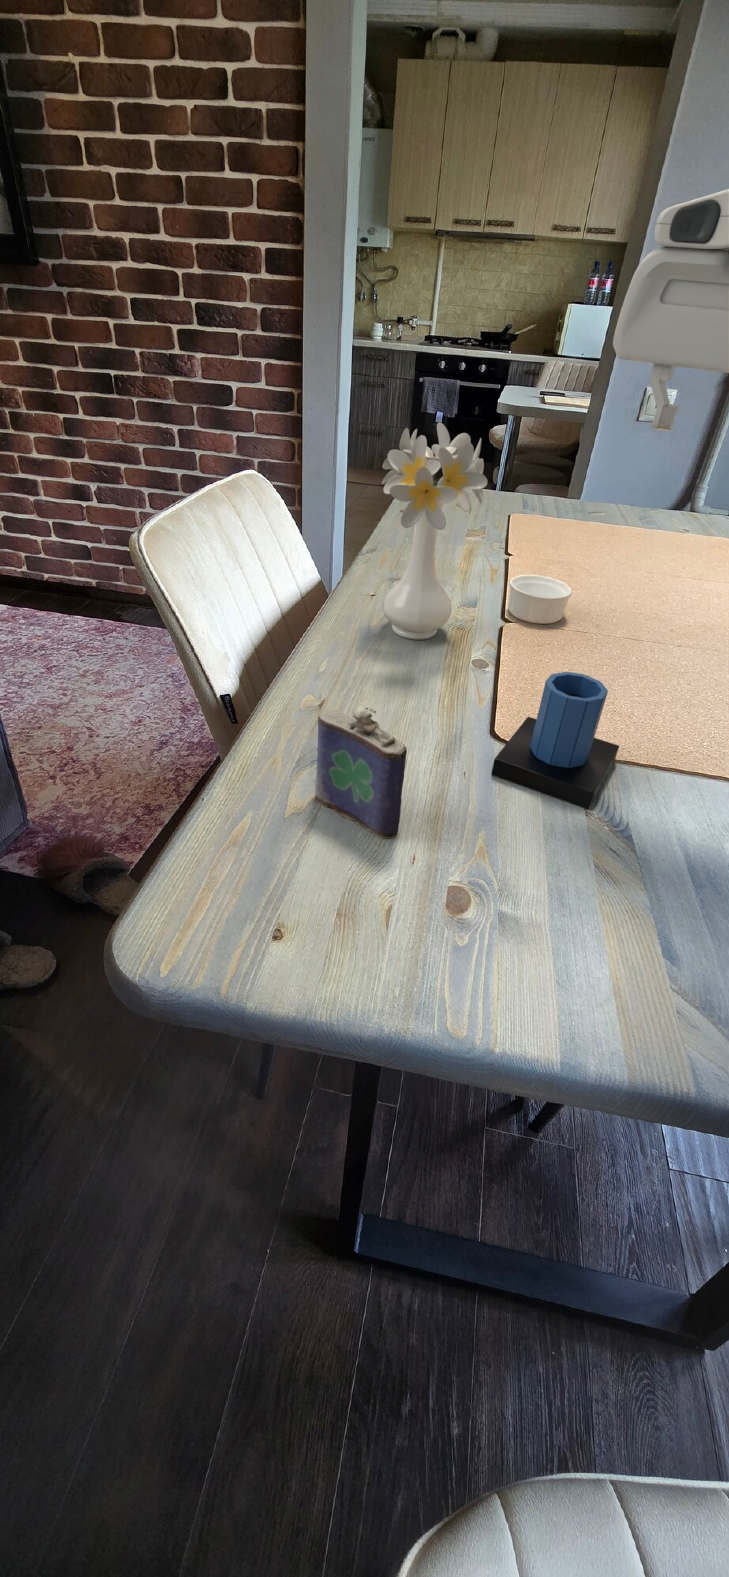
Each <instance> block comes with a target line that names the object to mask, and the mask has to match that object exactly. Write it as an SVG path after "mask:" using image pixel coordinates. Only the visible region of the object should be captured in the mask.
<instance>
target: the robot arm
mask: <svg viewBox="0 0 729 1577" xmlns="http://www.w3.org/2000/svg"><path fill="white" fill-rule="evenodd" d="M653 233H654V234H653V235H654V236H653V237H654V241H655V242H656V244H658V245H660V246H662V247H658V248H656V249H654V250H652V251H650V252H649V253H648V254H647V255H646V256H644V258H643V259H642V260H641V261H640V263H639V264H638V266H637V268H636V270H635V271H634V273H633V276H632V278H631V281H630V283H629V286H628V289H627V292H626V294H625V297H624V299H623V302H622V305H621V309H620V312H619V315H618V318H617V323H616V327H615V330H614V334H613V339H612V346H613V349H614V352H615V354H616V357H617V358H618V359H620V360H624V361H633V362H639V363H640V362H641V363H648V364H653V366H652V370H651V373H650V376H649V382H650V387H651V390H652V393H653V394H652V395H653V398H654V403H655V405H656V409H655V412H654V416H653V420H652V423H651V429H653V430H660V431H666V432H667V431H668V432H670V431H672V430H673V428H674V425H675V422H676V419H675V417H676V416H677V415H678V413H679V412H678V411H679V408H680V405H678V404H673V403H670V398H669V394H668V389H667V385H666V382H668V381H670V380H672V379H673V377H674V374H675V371H676V367H679V368H687V369H694V370H695V369H696V370H703V371H709V372H717V373H726V374H729V188H727V189H724V190H721V191H718V192H715V193H711V194H708V195H705V196H702V197H699V198H695V199H692V200H688V201H685V202H682V203H678V204H675V205H672V206H670V207H667V208H665V209H664V210H662V211H661V212H660V213H659V215H658V217H657V220H656V222H655V227H654V232H653Z"/></svg>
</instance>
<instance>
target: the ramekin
mask: <svg viewBox="0 0 729 1577" xmlns="http://www.w3.org/2000/svg"><path fill="white" fill-rule="evenodd" d="M572 592H573V590H572V588H571V586H570V585H569V584H567V583H566V582H564V581H562V580H560V579H557V578H554V577H549V576H546V575H540V574H521V575H516V576H513V577H512V578H511V579H510V580H509V596H508V604H507V605H508V607H507V608H508V611H509V613H510V614H511V615H512V616H513V617H515V618H517V619H518V620H521V621H524V622H526V623H531V624H537V625H538V624H540V625H544V624H545V625H549V624H555V623H557V622H559V621H560V620H562V618H563V616H564V612H565V610H566V606H567V605H568V601H569V599H570V597H571V596H572Z"/></svg>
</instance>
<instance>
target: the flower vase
mask: <svg viewBox="0 0 729 1577" xmlns="http://www.w3.org/2000/svg"><path fill="white" fill-rule="evenodd" d="M417 433H418V428H416V429H414V431H413V432H412V434H411V437H410V430H409V428H407V427H406V428H405V429H404V430H403V432H402V434H401V437H400V440H399V449H391V450H389V451H388V453H387V458H386V459H385V460H384V461H383V463H382V466H381V468H382V469H383V470H390V471H388V472H387V473H386V475H385V476H384V478H383V479H382V481H381V485H384V486H383V493H384V494H386V495H390V496H391V497H392V498H394V499H395V500H396V501H400V502H403V503H408V502H409V503H408V504H407V505H406V506H405V508H404V510H403V511H402V514H401V517H400V525H401V527H403V528H404V529H409V528H412V527H413V526H414V527H413V534H412V535H413V537H412V542H411V548H410V554H409V558H408V562H407V566H406V568H405V570H404V572H403V574H402V576H401V577H400V579H399V580H398V581H397V582H395V583H394V584H393V585H392V586H391V587H390V588H389V589H388V590H387V591H386V593H385V594H384V597H383V601H382V604H381V610H382V612H383V615H384V617H385V618H386V620H387V621H388V622H389V623H390V624H391V630H392V631H393V632H394V634H396V635H397V636H399V637H401V638H404V639H408V640H414V641H415V640H418V641H420V640H428V639H431V638H433V637H434V636H436V635H437V632H438V629H440V628H441V627H443V626H444V625H445V624H446V623H447V622H448V620H449V619H450V618H451V616H452V611H453V610H452V608H453V607H452V602H451V599H450V597H449V595H448V593H447V591H446V590H445V589H444V588H443V587H442V585H441V583H440V580H439V577H438V574H437V568H436V553H437V541H438V531H443V530H445V529H446V526H447V520H446V517H445V514H444V512H443V510H442V509H443V505H445V504H449V503H452V502H454V501H455V500H456V502H457V504H458V506H459V508H460V509H461V510H462V511H463V512H465V513H468V512H470V511H471V509H472V500H471V496H470V493H469V491H468V490H471V491H472V492H473V494H474V496H475V497H476V499H477V501H478V503H479V504H480V505H482V504H484V503H485V502H484V501H485V496H484V492H483V489H484V488H485V487H487V486H488V478H487V477H486V476H485V474H484V467H485V463H484V462H485V461H484V458H480V453H481V448H482V447H481V446H482V437H480V438H479V441H478V444H477V445H476V448H475V450H474V446H473V444H472V442H471V440H472V439H471V436H470V435H469V434H468V433H466V432H462V433H460V434H458V435H457V436H455V437H454V438H453V440H451V437H450V433H449V430H448V428H447V427H446V426H445V424H443V423H442V422H437V424H436V433H437V438H438V444H437V443H435V444H433V445H431V448H430V447H429V446H428V441H427V437H426V436H425V435H422V434H421V435H419V436H418V437H417V435H418V434H417ZM440 469H441V470H442V477H441V478H439V480H435V474H437V473H438V472H439V470H440Z"/></svg>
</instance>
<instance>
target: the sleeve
mask: <svg viewBox="0 0 729 1577" xmlns="http://www.w3.org/2000/svg"><path fill="white" fill-rule="evenodd" d="M608 692H609V691H608V689H607V688H606V686H605V685H604V684H603V682H602V681H600V680H599V679H596V678H594V677H591V676H590V675H587V674H584V673H579V672H573V671H562V672H556V673H552V674H550V675H549V677H548V678H547V679H546V680H545V682H544V687H543V691H542V695H541V699H540V703H539V708H538V712H537V716H536V719H537V720H536V724H535V728H534V732H533V736H532V741H531V745H530V748H531V750H532V752H533V754H534V755H535V756H536V758H538V759H540V760H542V761H544V762H545V763H547V764H549V765H550V764H551V765H552V766H559V767H565V768H568V767H569V768H572V767H576V766H581V765H583V764H584V763H585V762H586V760H587V758H588V757H589V753H590V750H591V746H592V743H593V740H594V738H595V736H596V733H597V731H598V730H597V729H598V727H599V723H600V719H601V716H602V713H603V709H604V706H605V703H606V700H607V696H608ZM565 693H571V694H576V695H579V696H581V697H583V698H580V697H574V696H569V695H567V694H565Z"/></svg>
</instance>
